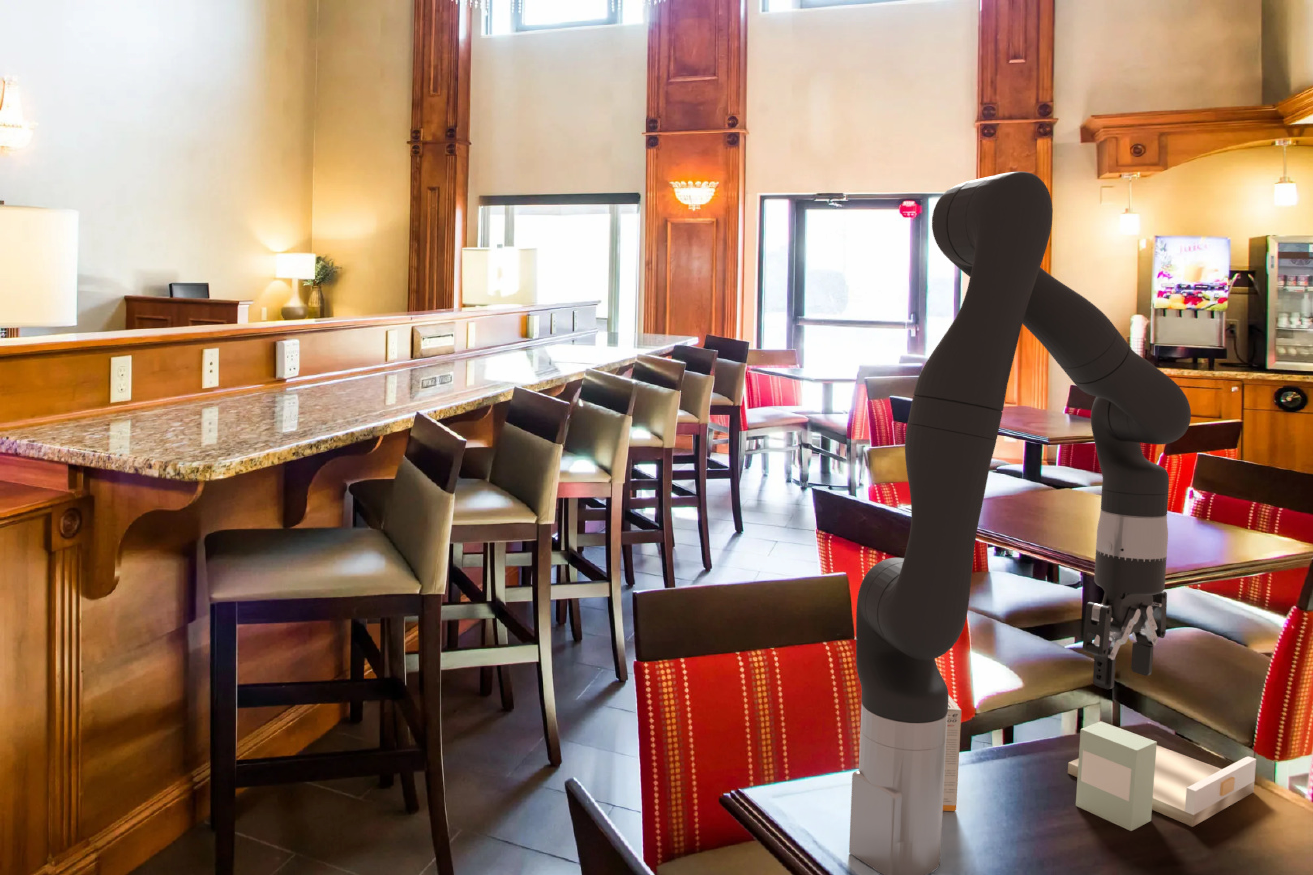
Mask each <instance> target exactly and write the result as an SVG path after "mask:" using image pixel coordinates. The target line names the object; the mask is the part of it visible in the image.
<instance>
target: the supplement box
mask: <svg viewBox="0 0 1313 875" xmlns="http://www.w3.org/2000/svg"><path fill="white" fill-rule="evenodd" d="M961 720H962V709H961V708H960V706H958V704H957V703H956V702H955V700H954V699H953V698H952V697H951V696H950V695H949V693H948V718H947V738H946V755H945V775H944V794H943V812H956V811H957V801H958V784H959V782H958V781H959V762H960V743H961V726H962V725H961V723H962V721H961Z"/></svg>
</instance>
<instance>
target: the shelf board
mask: <svg viewBox="0 0 1313 875" xmlns="http://www.w3.org/2000/svg"><path fill="white" fill-rule="evenodd" d="M1078 762H1079V757H1077V758H1076V759H1074V760H1071V761H1069V762H1068V763H1067V764H1068V765H1067V774H1069V775H1070V776H1074V777H1076V778H1077V777H1078ZM1256 767H1257V758H1254V757H1252V756H1249V755H1248V756H1246V757H1243V758H1241V759H1239V760H1237V761H1236V762H1233V763H1231V764H1230V765H1228V766H1226V767H1224V768H1220V767H1217V766H1214V765H1212V764H1209V763H1206V762H1203V761H1201V760H1198V759H1195V758H1192V757H1189V756H1187V755H1184V754H1183V753H1180V752H1177V751H1175V750H1170V749H1168V748H1165V747H1163V746H1161V745H1158V744H1157V746H1156V760H1155V773H1154V787H1153V800H1152V811H1155V812H1157V813H1160V814H1162V815H1164V816H1167V817H1168V818H1171V819H1174V820H1175V821H1177V822H1181V823H1183V824H1185V825H1187V826H1189V827H1191V828H1192V827H1195V826H1196V825H1198V824H1200V823H1202V822H1203V821H1207V819H1209V818H1211V817H1212V816H1214V815H1216V814H1218V813H1219V812H1221V811H1223V810H1225V809H1226V808H1229V806H1233V805H1234V804H1235V803H1238V801H1241V800H1243V799H1245V798H1246V797H1248V796H1249V795H1252V794H1254V793H1255V792H1254V791H1255V790H1254V789H1255V779H1256V769H1257V768H1256Z"/></svg>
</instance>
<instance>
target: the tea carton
mask: <svg viewBox="0 0 1313 875" xmlns="http://www.w3.org/2000/svg"><path fill="white" fill-rule="evenodd" d="M1079 734H1080V735H1079V749H1078V758H1079V762H1078V777H1076V778H1077V780H1076V782H1077V783H1076V794H1075V795H1076V796H1075V807H1078V808H1079V809H1082V810H1084V811H1087V812H1089V813H1091V814H1093V815H1095V816H1097V817H1100V818H1102V819H1103V820H1106V821H1108V822H1109V823H1112V824H1115V825H1117V826H1119V827H1121V828H1124V829H1126V830H1128V831H1130V832H1132V831H1134V830H1137V829H1138V828H1140V827H1142V826H1143V825H1145V824H1147V823H1149V822H1151V821H1152V813H1153V812H1152V811H1153V810H1152V800H1153V787H1154V773H1155V760H1156V746H1157V745H1158V744H1157V743H1158V741H1156V740H1154V739H1153V740H1152V739H1151V738H1147V737H1144V736H1142V735H1140V734H1137V733H1133V732H1131V731H1130V730H1129V731H1128V730H1126V729H1123V728H1120V727H1117V726H1115V725H1113V724H1109V723H1107V722H1104V721H1101V720H1100V721H1098V722H1095V723H1092V724H1089V725H1088V726H1085V727H1083V728H1081V729H1080V732H1079Z"/></svg>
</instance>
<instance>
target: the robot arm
mask: <svg viewBox="0 0 1313 875" xmlns="http://www.w3.org/2000/svg"><path fill="white" fill-rule="evenodd" d="M1053 209H1054V208H1053V202H1052V198H1051V194H1050V192H1049V189H1048V187H1047V185H1046V183H1045V182H1044V181H1043V180H1042V179H1041V178H1040V177H1039V176H1037V175H1036V174H1034V173H1032V172H1028V171H1012V172H1005V173H1000V174H995V175H991V176H986V177H982V178H977V179H973V180H967V181H965V182H962V183H959V184H957V185H954V186H952V187H951V188H949V189H947V190H945V192H944V193H943V194H942V195H941V196H940V197H939V198H938V200H937V202H936V204H935V207H934V209H933V212H932V217H931V227H932V228H931V229H932V235H933V238H934V241H935V243H936V245H937V246H938V248H939V250H940V251H941V253H943V255H944V256H946V258H947V259H948V260H949V261H950V262H951V263H953V265H954V266H956V267H957V268H958V269H959V270H961V271H962V272H963V273H964V274H965V275H967V276H968V277H969V280H968V285H967V289H966V292H965V296H964V299H963V301H962V304H961V306H960V308H959V311H958V312H957V314H956V317H955V318H954V320H953V321H952V322H951V324H950V326H949V328H948V330H947V331H946V332H945V333H944V335H943V337H942V338H941V340H940V341H939V343H937V345H936V346H935V349H934V350H933V351H932V352H931V355H930V356H929V358H928V359H927V361H926V362H925V363H924V365H923V368H921V371H920V374H919V376H918V378H917V380H916V384H915V387H914V391H913V396H912V400H911V405H910V409H909V415H908V419H907V423H906V430H905V439H904V440H905V441H904V453H905V454H904V456H905V466H906V468H905V469H906V474H907V481H908V488H909V494H910V495H909V496H910V508H911V509H910V510H911V519H910V520H911V521H910V530H909V535H908V536H909V537H908V540H907V545H906V547H905V548H906V550H905V553H904V557H890V558H886V559H883V560H881V561H879V562H878V563H875V565H873V566H872V567H871V568H870V569H869V570H868V571H867V572H866V574H865V576H864V577H863V579H862V581H861V584H860V587H859V589H858V594H857V599H856V614H855V615H856V616H855V618H856V619H855V663H856V666H855V667H856V672H857V676H858V680H859V683H860V687H861V688H860V689H861V706H860V708H861V711H860V729H859V730H860V733H859V753H858V754H859V755H858V756H859V757H858V770H856V771H854V772H853V773H852V774H851V795H850V796H851V797H850V798H851V799H850V826H849V849H848V853H849V854H851V855H852V856H854V857H855V858H856V859H858V860H860V861H862V862H863V863H864V864H866V865H868V866H869V867H871V868H873V869H874V870H875V871H876V872H878V873H880V874H881V875H929V874H931V873H933V872H935V870H937V869H938V868H939V866H940V862H941V851H942V850H941V848H942V835H943V834H942V832H943V830H942V829H943V812H944V811H943V794H944V775H945V755H946V738H947V718H948V694H949V690H948V686H947V683H946V681H945V680H944V678H943V676H942V674H941V672H940V669H939V668H938V665H937V661H936V659H938V658H940V657H942V656H944V655H945V654H947V652H949V651H950V650H951V649H952V648H953V647H954V645H956V643H957V642H958V640H959V639H960V636H961V634H962V633H963V631H964V628H965V624H966V621H967V616H968V612H969V605H970V604H969V603H970V597H971V596H970V595H971V587H972V586H971V585H972V577H973V576H972V575H973V568H974V567H973V564H974V557H975V556H974V554H975V547H976V540H977V534H978V533H977V532H978V526H979V523H980V517H981V513H982V512H981V511H982V507H983V503H984V500H985V499H984V497H985V494H986V487H987V483H988V478H989V473H990V469H991V463H992V459H993V455H994V452H995V448H996V444H997V439H998V435H999V431H1000V425H1001V421H1002V418H1003V411H1004V409H1005V408H1004V407H1005V401H1006V400H1005V399H1006V395H1007V389H1008V383H1009V380H1010V375H1011V371H1012V368H1013V363H1014V358H1015V355H1016V351H1017V346H1018V343H1019V338H1020V335H1021V330H1022V325H1023V326H1024V327H1025V328H1026V329H1027V330H1028V331H1029V332H1030V333H1031V334H1032V335H1033V336H1034V337H1035V338H1036V339H1037V340H1038V342H1040V344H1041V345H1042V346H1043V347H1044V348H1045V349H1046V351H1047V352H1048V353H1049V355H1051V357H1052V358H1053V359H1054V360H1055V362H1056V363H1057V364H1058V365H1059V366H1060V368H1061V369H1062V370H1063V371H1064V372H1065V374H1066V375H1067V376H1068V377H1069V379H1070V380H1071V381H1072V382H1073V384H1074V385H1075V386H1076V387H1077V388H1079V390H1080V391H1082V392H1084V393H1086V394H1087V395H1090V396H1093V397H1095V398H1094V401H1093V404H1092V407H1091V411H1090V426H1091V432H1092V437H1093V441H1094V445H1095V448H1096V454H1097V459H1098V460H1097V461H1098V463H1099V467H1100V471H1101V474H1102V482H1101V483H1102V484H1101V498H1100V511H1099V512H1100V513H1099V519H1098V523H1097V529H1096V542H1095V557H1094V558H1095V561H1094V576H1093V582H1094V583H1095V584H1096V585H1097V586H1098V587H1100V588H1102V590H1103V591H1104V594H1103V599H1102V601H1101V603H1096V602H1092V601H1089V602H1087V604H1086V607H1085V617H1084V628H1083V629H1084V630H1083V637H1082V638H1083V639H1082V651H1083V652H1085V653H1089V654H1092V655H1093V657H1094V659H1093V673H1092V682H1093V685H1095V687H1099V688H1102V689H1103V690H1110V689H1113V688H1114V687H1115V678H1116V677H1115V675H1116V663H1117V662H1116V660H1117V659H1116V656H1117V654H1118V651H1119V649H1120V647H1121V646H1122V645H1125V644H1126V643H1127V642H1128V639H1129V638H1130V635H1131V636H1132V638H1133V639H1132V640H1134V642H1132V649H1131V663H1130V664H1131V666H1130V669H1131V671H1132V672H1133V673H1135V674H1139V675H1141V676H1144V677H1145V676H1150V675H1152V673H1153V672H1152V671H1153V659H1154V647H1156V646H1157V645H1158V642H1159V638H1160V639H1164V638H1165V637H1166V633H1167V632H1166V631H1167V606H1168V603H1167V602H1168V593H1167V592H1166V591H1164V590H1165V585H1166V571H1167V570H1166V569H1167V558H1168V545H1169V544H1168V542H1169V528H1168V506H1169V490H1170V488H1169V487H1170V486H1169V485H1170V478H1169V477H1170V476H1169V473H1168V471H1167V469H1166V468H1164V467H1163V466H1161V465H1159V464H1156V463H1154V462H1152V461H1150V460H1148V459H1147V458H1146V457H1145V455H1144V454H1143V450H1142V447H1141V444H1148V445H1157V446H1159V445H1168V444H1170V443H1174V442H1176V441H1178V440H1179V439H1180V438H1182V437H1183V436H1184V435H1185V434H1186V432H1187V430H1188V429H1189V427H1190V424H1191V419H1192V411H1191V406H1190V403H1189V400H1188V398H1187V395H1186V394H1185V392H1184V391H1183V389H1182V388H1181V387H1180V386H1179V384H1177V382H1175V381H1174V380H1173V379H1172V378H1171V377H1169V376H1168V375H1167V374H1165V373H1164V372H1163V371H1162V370H1161V369H1159V368H1158V367H1156V366H1155V365H1154V364H1153V363H1151V362H1150V361H1149V360H1147V359H1146V358H1144V357H1142V356H1141V355H1139V354H1138V353H1136V351H1134V350H1133V349H1132V347H1131V346H1130V343H1128V342H1127V341H1126V339H1125V338H1124V336H1123V335H1122V334H1121V333H1120V332H1119V330H1118V329H1117V327H1115V326H1116V325H1114V324H1113V322H1112V321H1111V320H1110V318H1108V316H1107V315H1106V314H1105V313H1104V312H1103V311H1102V310H1101V309H1099V308H1098V307H1097V306H1096V305H1095V304H1093V303H1092V302H1091V301H1089V300H1088V299H1087V298H1086V297H1084V296H1083V295H1081V294H1080V293H1078V292H1077V291H1075V290H1073V289H1072V288H1071V287H1069V286H1068V285H1065V283H1063V282H1061V281H1059V280H1058V279H1056V278H1055V277H1054V276H1052V275H1051V274H1050V273H1048V272H1047V271H1046V270H1045V269H1043V268H1042V267H1041V266H1042V263H1043V260H1044V256H1045V254H1046V250H1047V248H1048V243H1049V239H1050V236H1051V232H1052V226H1053V215H1054V214H1053ZM1155 620H1156V621H1157V623H1156V621H1155ZM1094 635H1095V637H1094ZM1093 639H1094V641H1093ZM1110 641H1111V643H1110V644H1109V642H1110Z"/></svg>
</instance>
